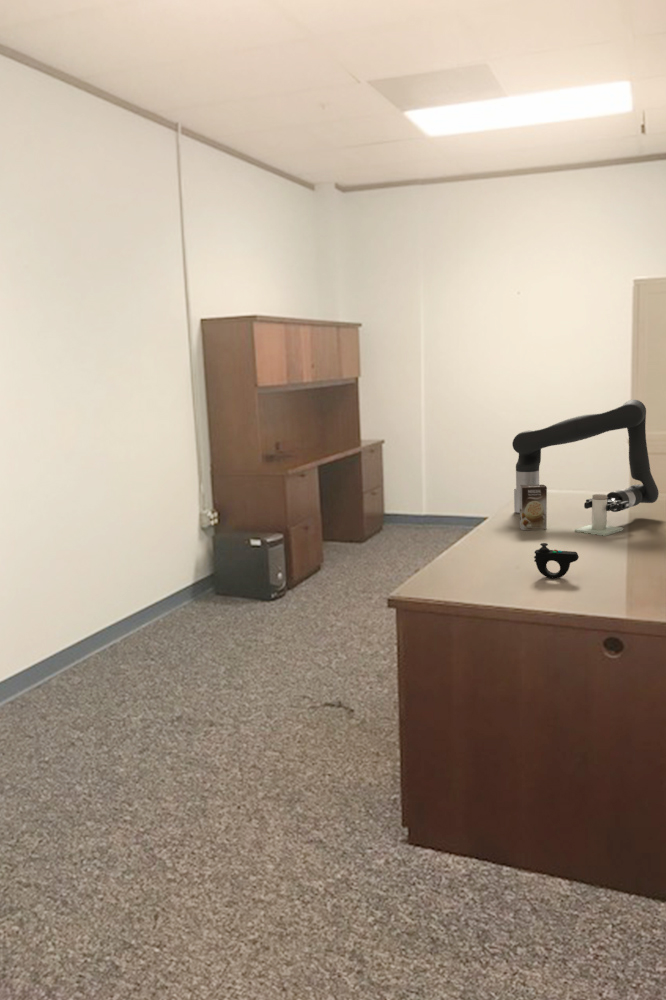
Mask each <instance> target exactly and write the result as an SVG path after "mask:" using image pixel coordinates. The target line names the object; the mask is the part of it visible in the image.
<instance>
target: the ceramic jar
mask: <svg viewBox="0 0 666 1000" xmlns="http://www.w3.org/2000/svg"><path fill="white" fill-rule="evenodd" d="M606 505H607V494H604V493H603V494H600V493H599V494H597V493H596V494H592V508H591V524H592V529H595V530H605V529H606V526H607V522H608V521H607V517H608V515H607V514H608V511H606Z"/></svg>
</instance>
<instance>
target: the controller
mask: <svg viewBox="0 0 666 1000" xmlns="http://www.w3.org/2000/svg"><path fill="white" fill-rule="evenodd" d="M539 546H541V547H540V548H539V549H535V551H534V552H533V553H534V554H535V555H534V556H533V558H534V560H533V561H534V562H535V564H536V568H537V570H538V571H539V573H540V574H542V576H543V577H545V578H548V579H553V580H554V579H555V580H556V579H560V578H562V577H564V576H565V575H566V574H567V573H568V571H569V569H570V565H571V563H574V562H577V561H578V559H579V557H580V556H579V554H578V552H577V551H571V550H570V551H569V550H557V549H550V548H548V547H547V546H548V543H547V542H542V543H540V545H539ZM551 561H554V562H555V563H557V564H558V566H559V570H558V571H557V572H552V571H549V568H548V567H547V564H548V563H549V562H551Z"/></svg>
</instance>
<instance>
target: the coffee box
mask: <svg viewBox="0 0 666 1000" xmlns="http://www.w3.org/2000/svg"><path fill="white" fill-rule="evenodd" d="M547 489H548V486H547V485H545V484H539V485H520V513H519V528H520V529H521V531H543V530H542V529H546V530H547V528H548V527H547V520H548V519H547V517H548V516H547V515H548V514H547V510H548V507H547V505H548V504H547V503H548V502H547V497H548V495H547V494H548V493H547V491H548V490H547ZM540 529H541V530H540Z"/></svg>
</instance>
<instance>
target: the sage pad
mask: <svg viewBox="0 0 666 1000" xmlns="http://www.w3.org/2000/svg"><path fill="white" fill-rule="evenodd" d="M623 530H624V527H620V526H614V525H613V526H612V525H606V529H605V530H595V529H592V523H591V524H588V525H585V526H581V527H579V528H575V529H574V532H575V531H577V532H576V533H581V532H584V533H583V534H588V533H591V534H590V535H595V534H597V536H602V535H603V537H606V536H608V535H609V536H610V535H613V534H615V533H619V532H622V531H623Z"/></svg>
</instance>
